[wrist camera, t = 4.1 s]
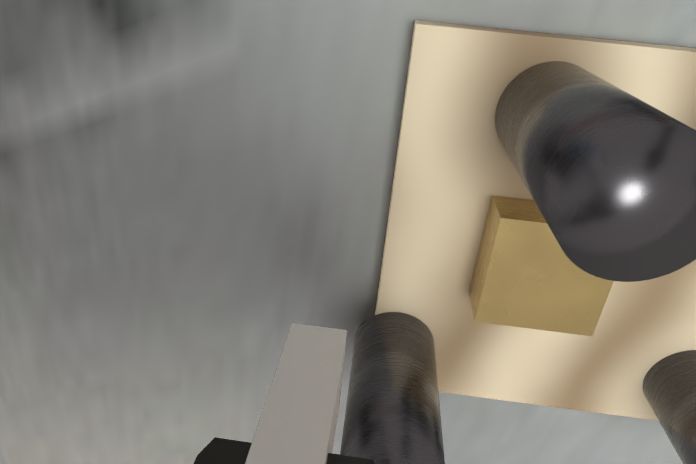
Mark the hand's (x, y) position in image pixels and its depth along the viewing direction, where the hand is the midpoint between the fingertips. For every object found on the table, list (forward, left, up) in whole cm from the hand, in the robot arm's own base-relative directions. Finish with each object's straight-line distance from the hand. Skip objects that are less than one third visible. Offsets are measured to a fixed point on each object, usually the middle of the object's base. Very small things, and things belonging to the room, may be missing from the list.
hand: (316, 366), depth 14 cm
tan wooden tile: (+8, 0, -8) cm, 11 cm away
